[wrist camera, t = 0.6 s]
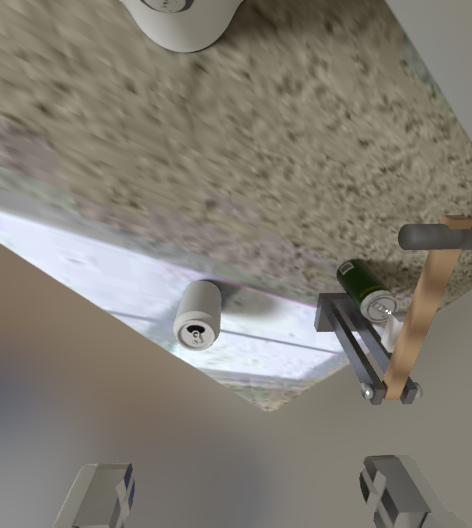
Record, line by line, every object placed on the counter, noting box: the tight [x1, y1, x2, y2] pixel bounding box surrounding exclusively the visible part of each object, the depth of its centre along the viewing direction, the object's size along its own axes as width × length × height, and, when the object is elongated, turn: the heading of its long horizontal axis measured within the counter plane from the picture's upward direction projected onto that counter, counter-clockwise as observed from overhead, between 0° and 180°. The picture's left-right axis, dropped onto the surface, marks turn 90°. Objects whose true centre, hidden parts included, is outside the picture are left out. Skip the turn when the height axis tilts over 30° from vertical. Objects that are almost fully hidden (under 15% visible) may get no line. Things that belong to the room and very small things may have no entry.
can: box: [173, 281, 222, 351], centre depth 46 cm, size 8×8×12 cm
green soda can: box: [337, 260, 399, 322], centre depth 44 cm, size 5×5×12 cm
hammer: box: [381, 215, 472, 400], centre depth 32 cm, size 26×9×4 cm, turn 0°
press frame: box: [314, 293, 423, 405], centre depth 45 cm, size 8×10×20 cm
